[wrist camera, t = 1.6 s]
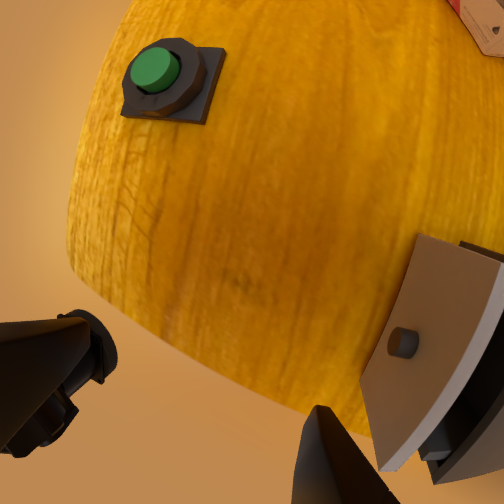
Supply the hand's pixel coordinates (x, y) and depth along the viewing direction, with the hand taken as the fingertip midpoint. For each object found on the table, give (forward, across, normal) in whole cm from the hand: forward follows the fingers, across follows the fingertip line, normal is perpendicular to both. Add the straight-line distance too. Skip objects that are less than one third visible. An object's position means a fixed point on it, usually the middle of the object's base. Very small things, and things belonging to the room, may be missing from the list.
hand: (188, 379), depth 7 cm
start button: (+10, +9, -12) cm, 18 cm away
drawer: (+11, -14, 0) cm, 18 cm away
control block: (+12, +9, -12) cm, 19 cm away
